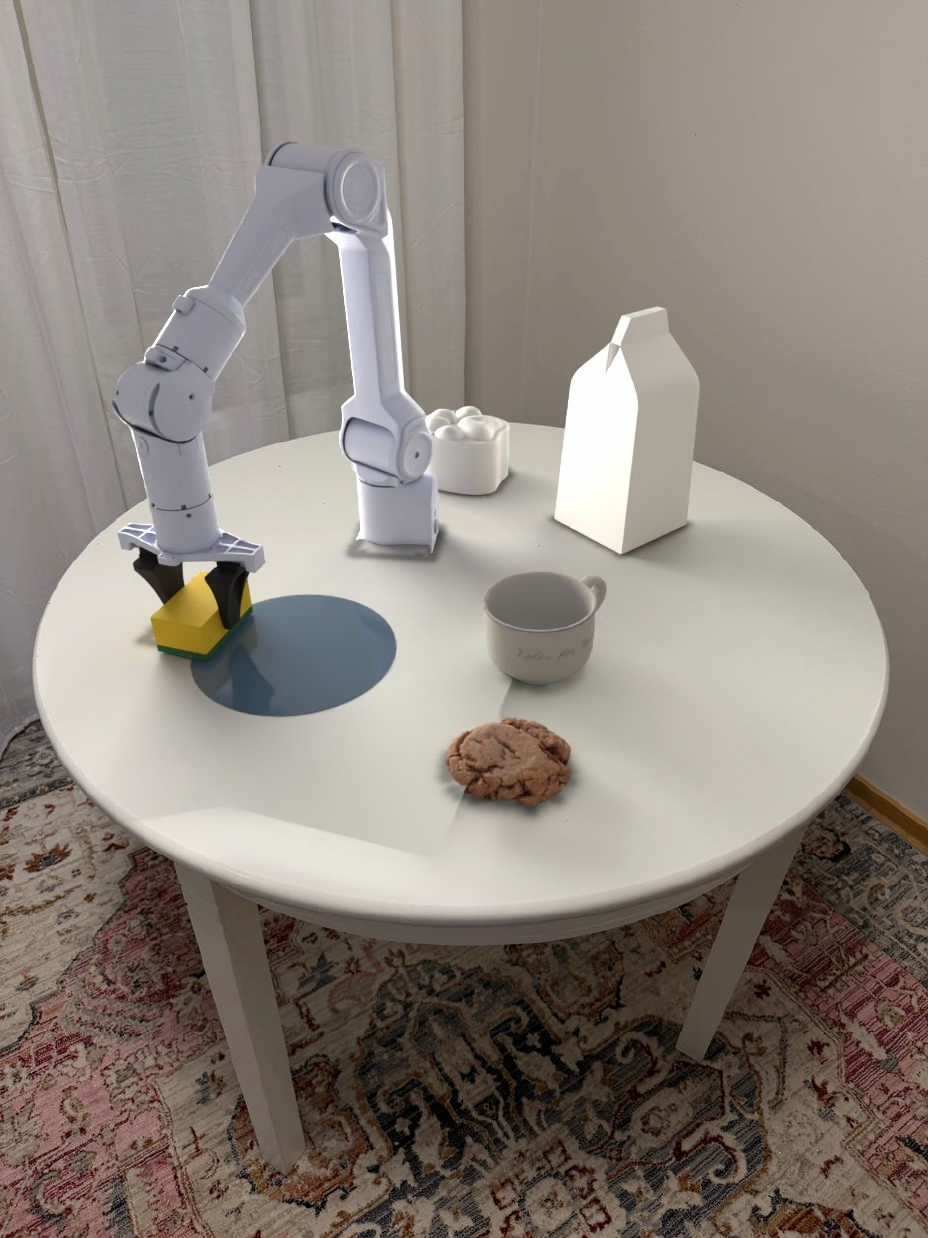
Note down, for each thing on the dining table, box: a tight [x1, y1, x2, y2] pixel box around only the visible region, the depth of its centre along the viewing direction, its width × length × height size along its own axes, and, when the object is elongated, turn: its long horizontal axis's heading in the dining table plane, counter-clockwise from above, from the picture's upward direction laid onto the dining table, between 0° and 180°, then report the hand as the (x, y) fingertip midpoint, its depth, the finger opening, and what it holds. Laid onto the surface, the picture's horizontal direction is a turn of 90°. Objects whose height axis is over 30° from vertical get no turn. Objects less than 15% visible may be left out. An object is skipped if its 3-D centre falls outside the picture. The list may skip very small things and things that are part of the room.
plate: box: [189, 593, 397, 718], centre depth 87 cm, size 20×20×1 cm
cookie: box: [445, 717, 572, 807], centre depth 74 cm, size 10×11×3 cm
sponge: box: [150, 570, 253, 661], centre depth 88 cm, size 6×9×4 cm, turn 163°
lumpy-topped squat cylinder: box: [425, 405, 511, 496], centre depth 120 cm, size 10×13×9 cm
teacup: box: [481, 571, 608, 685], centre depth 85 cm, size 14×11×8 cm
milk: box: [553, 305, 701, 555], centre depth 104 cm, size 12×12×26 cm
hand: (205, 618), depth 88 cm, fingers closed on sponge, 5 cm apart
